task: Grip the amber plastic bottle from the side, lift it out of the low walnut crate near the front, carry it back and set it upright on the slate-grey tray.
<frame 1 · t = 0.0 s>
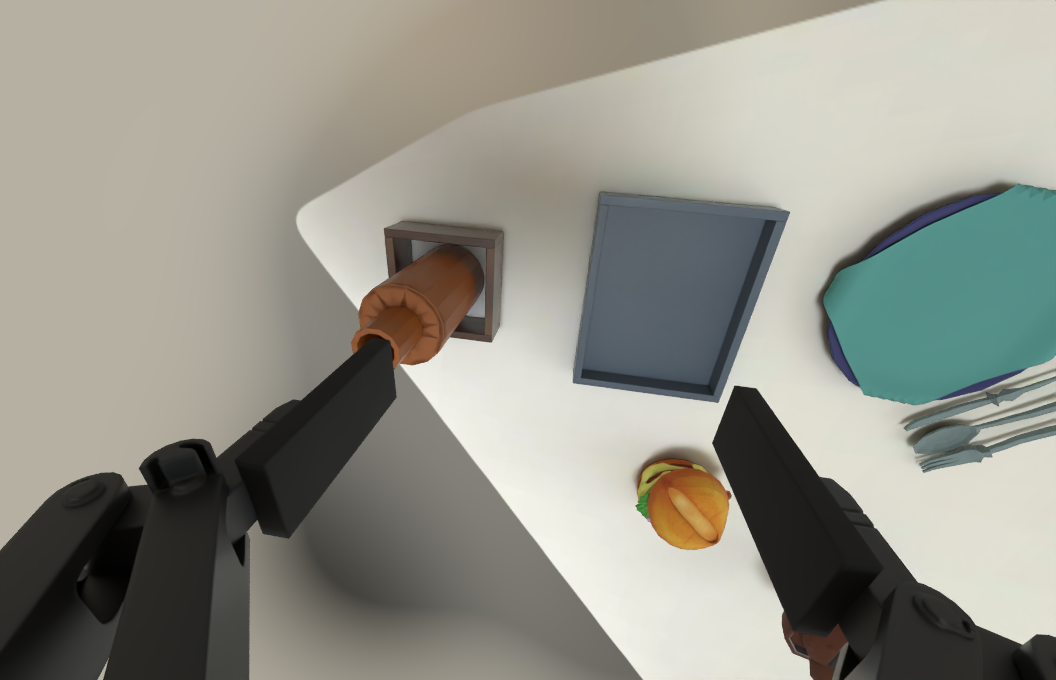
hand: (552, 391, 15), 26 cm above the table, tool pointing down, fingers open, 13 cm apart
tray: (661, 300, 39), on the table
crate: (453, 276, 41), on the table
cheeseburger: (672, 477, 49), on the table
bottle: (423, 305, 33), in the crate
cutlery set: (950, 342, 37), on the table
ice cream bowl: (796, 561, 53), on the table
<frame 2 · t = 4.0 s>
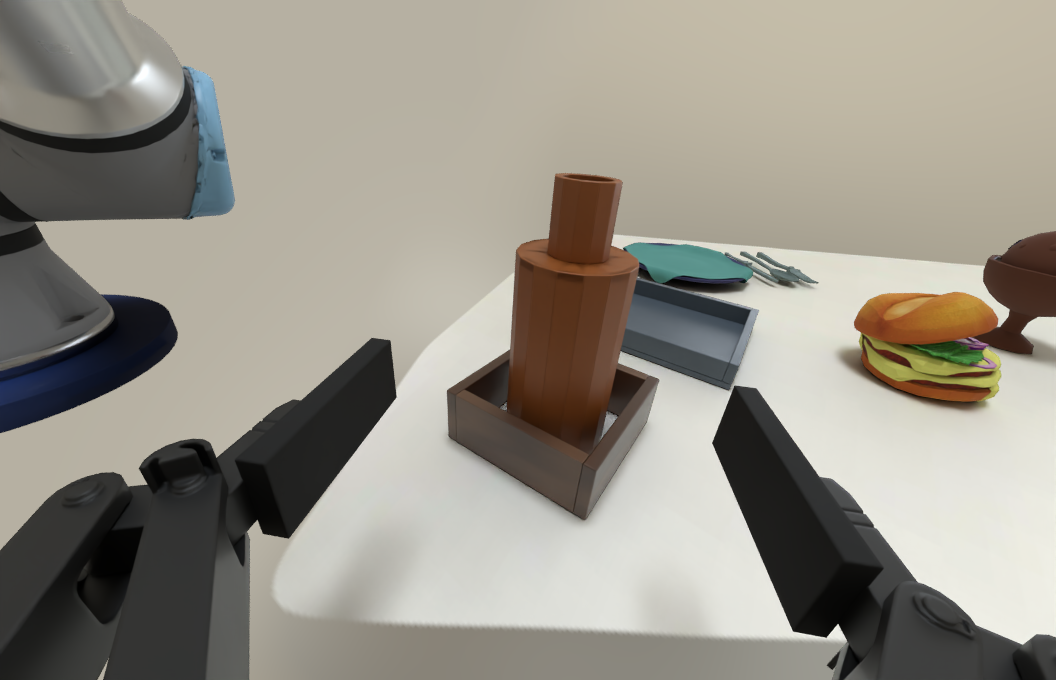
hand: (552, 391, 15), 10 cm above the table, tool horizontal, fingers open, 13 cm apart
tray: (650, 326, 44), on the table
crate: (552, 428, 28), on the table
cheeseburger: (903, 378, 38), on the table
bottle: (567, 325, 23), in the crate
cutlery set: (708, 272, 64), on the table
ice cream bowl: (999, 343, 47), on the table
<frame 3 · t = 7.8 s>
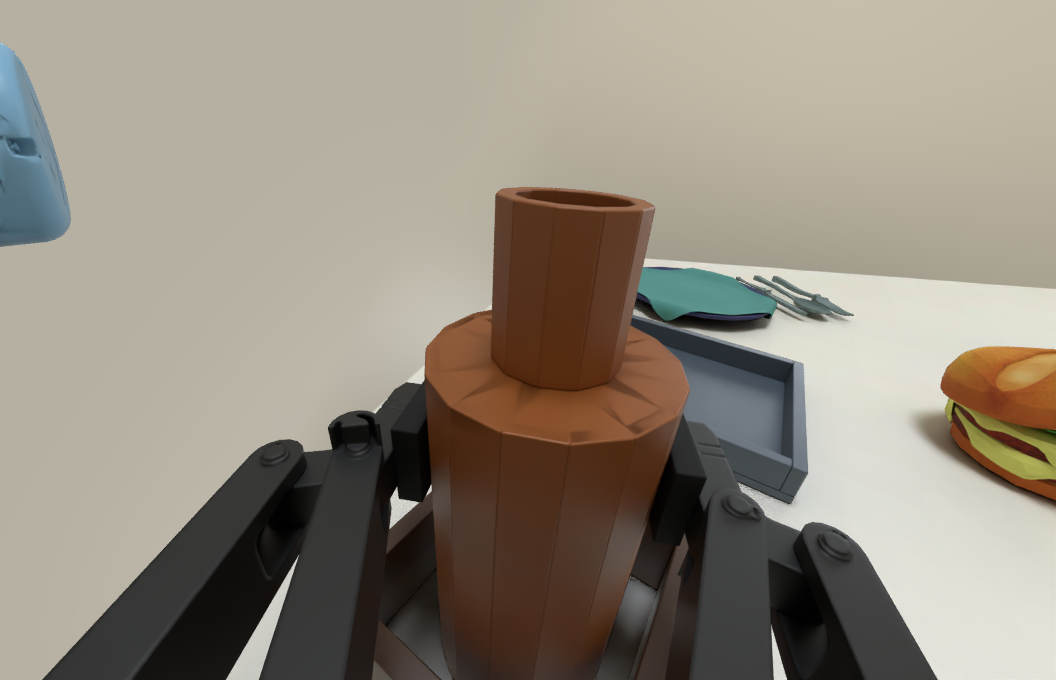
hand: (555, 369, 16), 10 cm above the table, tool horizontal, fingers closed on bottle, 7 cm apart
tray: (662, 387, 33), on the table
crate: (523, 617, 16), on the table
cheeseburger: (1016, 464, 28), on the table
bottle: (540, 474, 12), in the crate, touching gripper
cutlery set: (721, 302, 54), on the table
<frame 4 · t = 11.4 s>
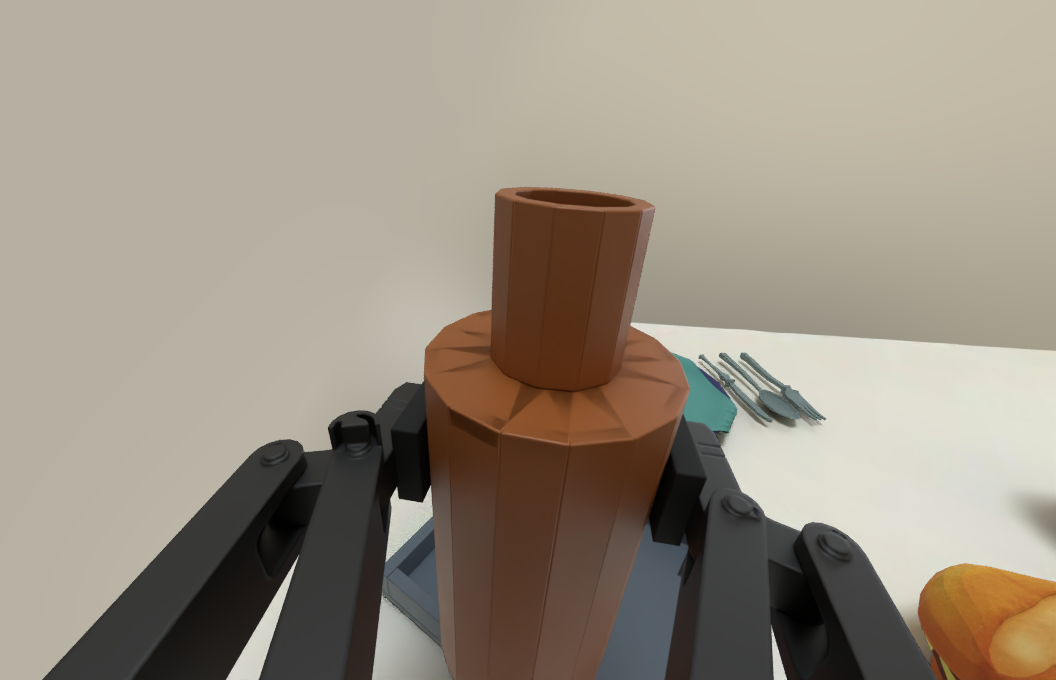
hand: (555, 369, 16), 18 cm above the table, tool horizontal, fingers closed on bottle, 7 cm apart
tray: (571, 580, 26), on the table
bottle: (540, 474, 12), point 17 cm above the table, touching gripper
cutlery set: (677, 396, 47), on the table
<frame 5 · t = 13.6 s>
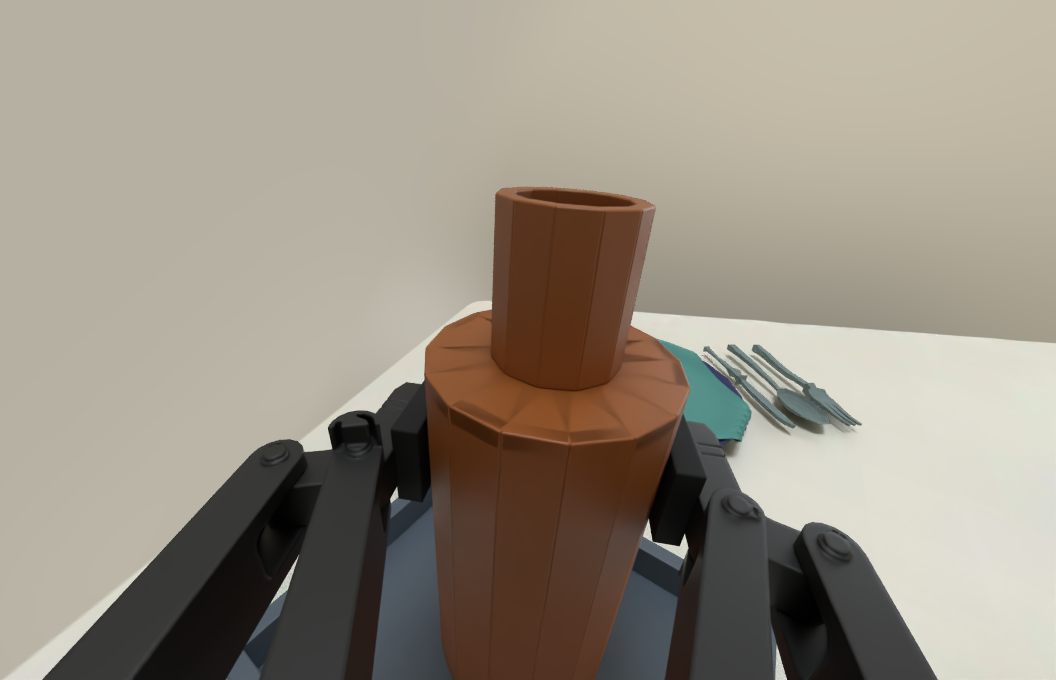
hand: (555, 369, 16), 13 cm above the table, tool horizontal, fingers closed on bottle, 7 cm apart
tray: (516, 659, 18), on the table
bottle: (540, 474, 12), point 12 cm above the table, touching gripper
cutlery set: (677, 395, 39), on the table
when the fingers open (10 cm above the table, at t = 15.0 s): bottle stays where it is, resting on tray.
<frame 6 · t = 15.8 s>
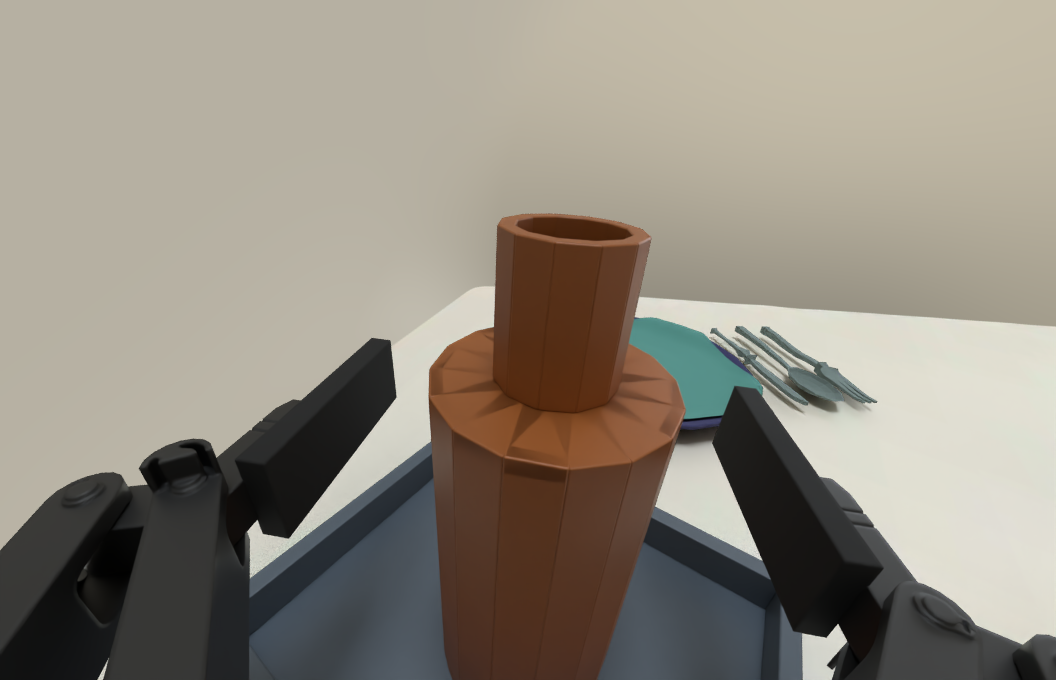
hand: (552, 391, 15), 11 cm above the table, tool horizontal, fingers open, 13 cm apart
tray: (522, 632, 17), on the table
bottle: (541, 488, 13), in the tray, point 9 cm above the table
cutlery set: (685, 375, 38), on the table
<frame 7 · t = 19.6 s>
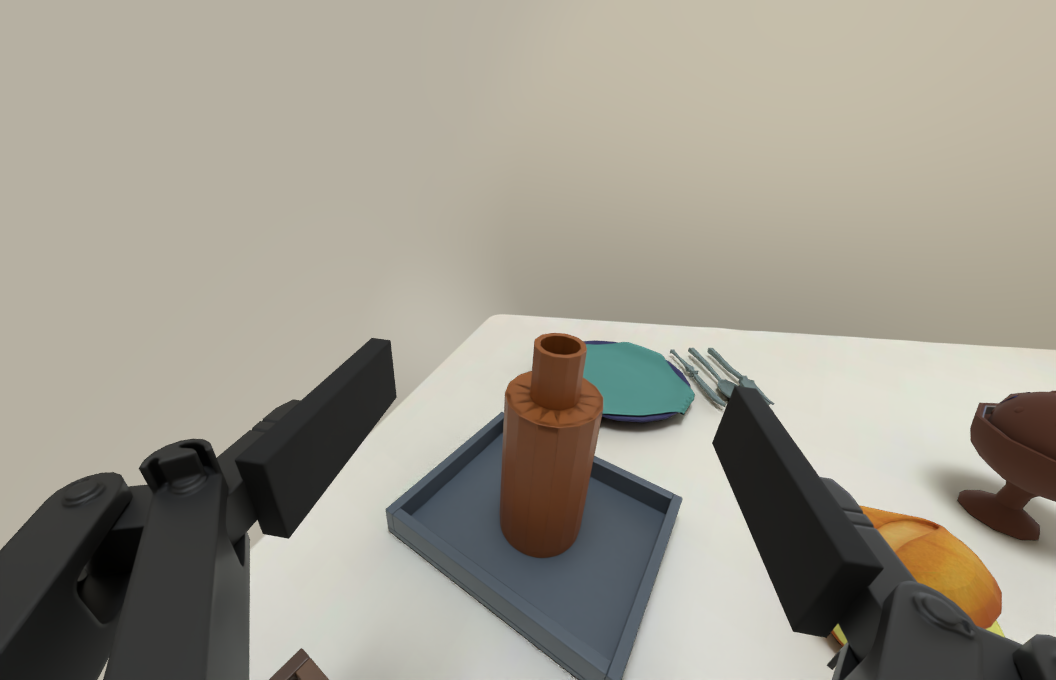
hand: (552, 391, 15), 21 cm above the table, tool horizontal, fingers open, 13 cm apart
tray: (538, 523, 33), on the table
cheeseburger: (873, 628, 27), on the table
bottle: (548, 444, 28), in the tray, point 9 cm above the table
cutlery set: (646, 385, 54), on the table
ice cream bowl: (995, 516, 37), on the table
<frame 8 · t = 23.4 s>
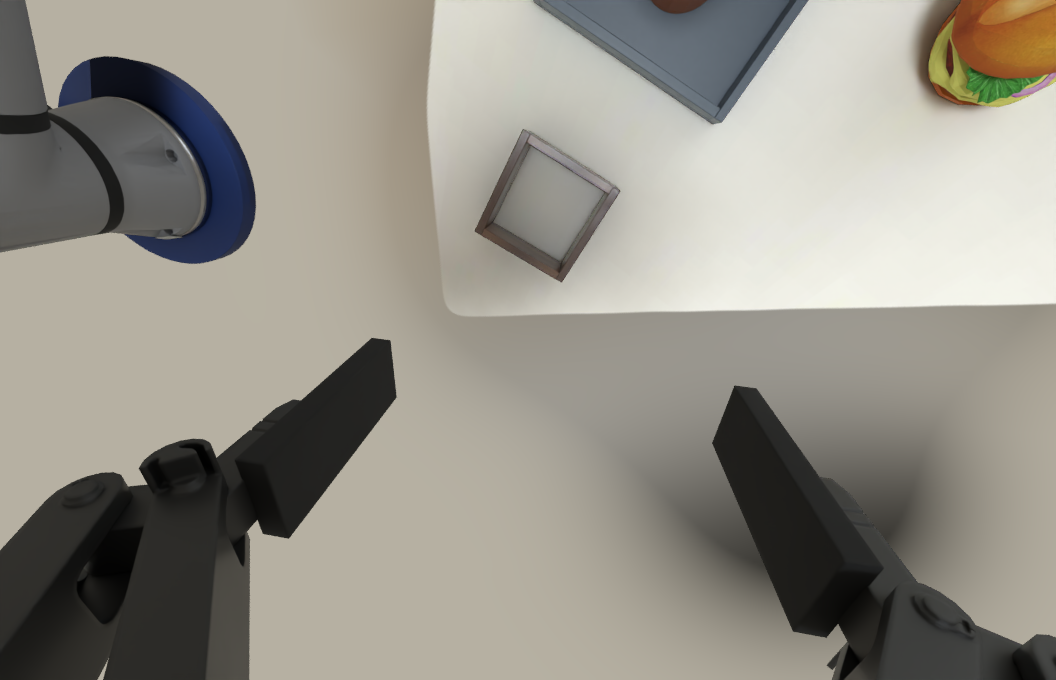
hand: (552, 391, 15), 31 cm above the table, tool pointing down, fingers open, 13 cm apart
crate: (547, 206, 41), on the table
cheeseburger: (982, 37, 31), on the table
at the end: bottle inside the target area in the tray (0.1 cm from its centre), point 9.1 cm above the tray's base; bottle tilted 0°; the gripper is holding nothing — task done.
